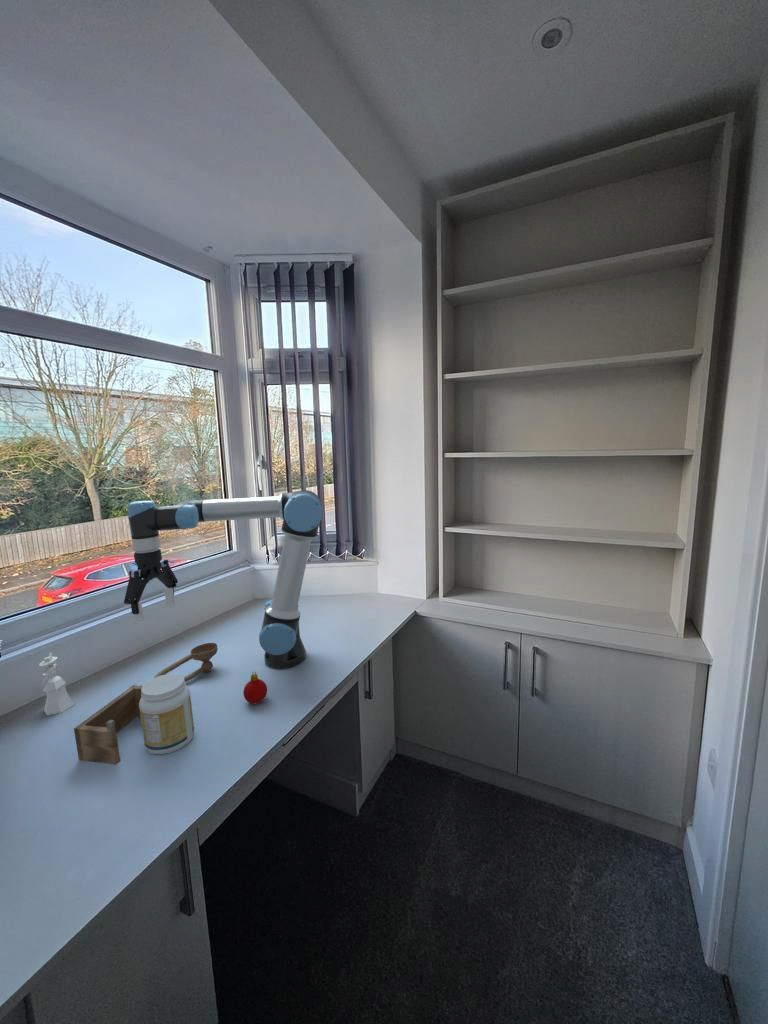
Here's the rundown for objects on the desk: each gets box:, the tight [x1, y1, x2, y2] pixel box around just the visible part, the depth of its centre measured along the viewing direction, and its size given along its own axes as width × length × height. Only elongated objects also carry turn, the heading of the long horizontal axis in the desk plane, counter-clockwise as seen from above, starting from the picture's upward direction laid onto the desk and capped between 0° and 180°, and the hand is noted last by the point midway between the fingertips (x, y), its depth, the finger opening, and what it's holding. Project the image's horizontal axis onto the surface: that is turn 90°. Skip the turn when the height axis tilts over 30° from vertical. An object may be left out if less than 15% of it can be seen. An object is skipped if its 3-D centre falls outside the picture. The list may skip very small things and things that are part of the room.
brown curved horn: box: [153, 642, 218, 683], centre depth 151 cm, size 24×9×19 cm
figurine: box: [38, 652, 75, 716], centre depth 131 cm, size 7×8×18 cm
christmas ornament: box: [242, 671, 268, 705], centre depth 131 cm, size 7×7×10 cm
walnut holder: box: [73, 685, 143, 766], centre depth 117 cm, size 11×20×11 cm, turn 170°
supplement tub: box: [139, 673, 195, 755], centre depth 114 cm, size 12×12×17 cm
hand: (155, 614), depth 136 cm, fingers open, 13 cm apart
